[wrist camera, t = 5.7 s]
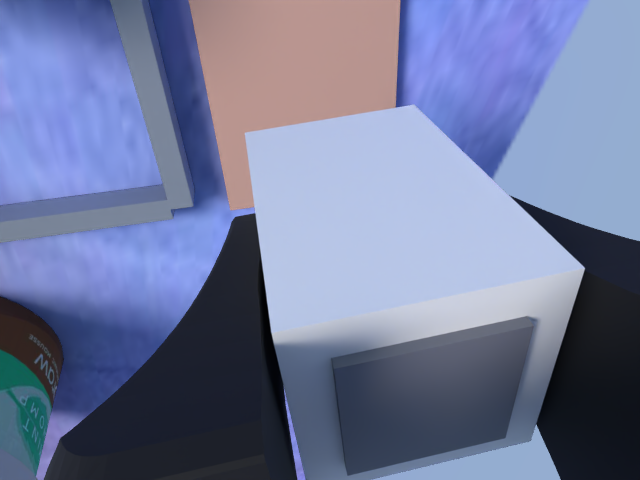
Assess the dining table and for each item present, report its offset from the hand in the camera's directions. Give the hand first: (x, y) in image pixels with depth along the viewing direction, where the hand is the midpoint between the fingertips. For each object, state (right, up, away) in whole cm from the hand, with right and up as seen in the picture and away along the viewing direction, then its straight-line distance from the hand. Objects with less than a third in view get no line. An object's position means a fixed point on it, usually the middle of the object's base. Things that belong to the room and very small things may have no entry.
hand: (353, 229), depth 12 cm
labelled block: (0, +1, +2) cm, 2 cm away
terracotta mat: (-2, +6, +8) cm, 10 cm away
